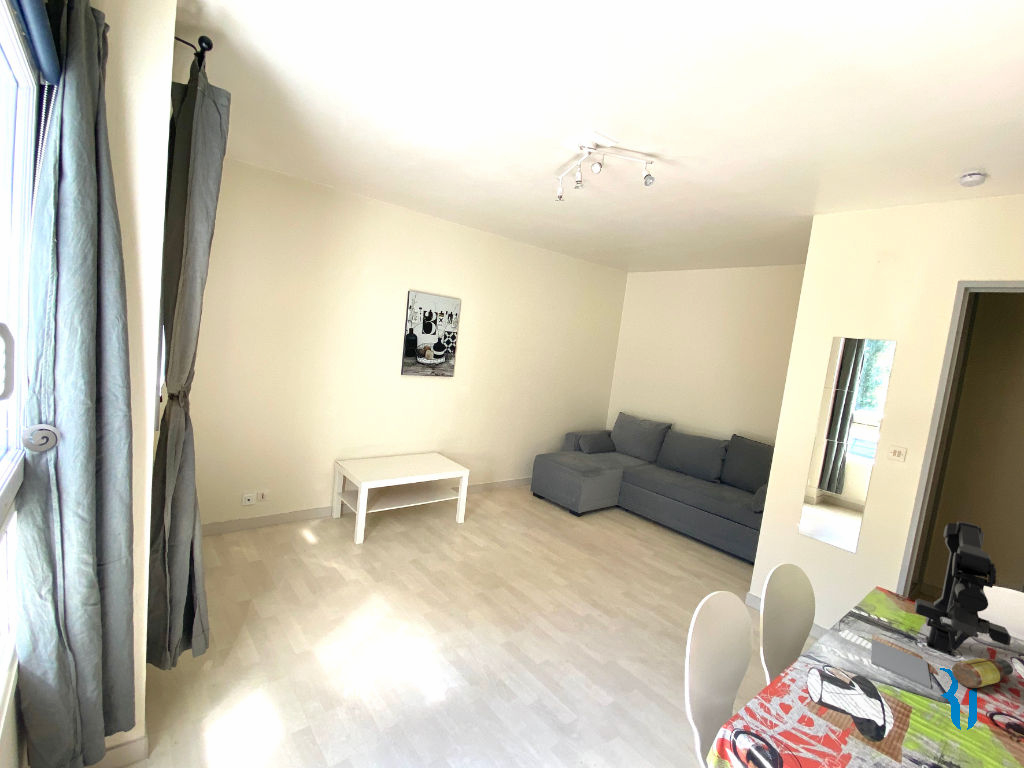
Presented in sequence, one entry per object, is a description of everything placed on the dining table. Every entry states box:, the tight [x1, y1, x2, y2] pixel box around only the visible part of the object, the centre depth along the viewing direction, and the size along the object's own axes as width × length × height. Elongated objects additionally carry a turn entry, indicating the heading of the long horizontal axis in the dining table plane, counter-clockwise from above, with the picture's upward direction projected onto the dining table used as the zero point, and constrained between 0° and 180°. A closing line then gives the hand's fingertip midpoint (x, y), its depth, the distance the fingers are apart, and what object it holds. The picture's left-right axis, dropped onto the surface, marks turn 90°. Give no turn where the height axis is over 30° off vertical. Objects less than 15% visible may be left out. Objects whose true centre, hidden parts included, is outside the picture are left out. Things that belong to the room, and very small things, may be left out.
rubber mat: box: [870, 638, 932, 690], centre depth 134 cm, size 15×13×1 cm
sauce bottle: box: [951, 657, 1014, 689], centre depth 130 cm, size 7×6×20 cm
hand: (953, 648), depth 127 cm, fingers closed
